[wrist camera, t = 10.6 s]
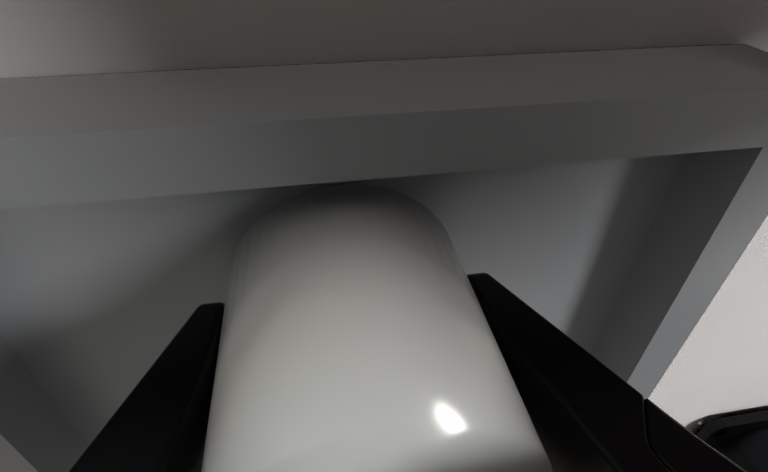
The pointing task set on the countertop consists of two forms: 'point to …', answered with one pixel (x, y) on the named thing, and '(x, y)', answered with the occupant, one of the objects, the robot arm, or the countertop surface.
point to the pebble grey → (360, 348)
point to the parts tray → (373, 168)
